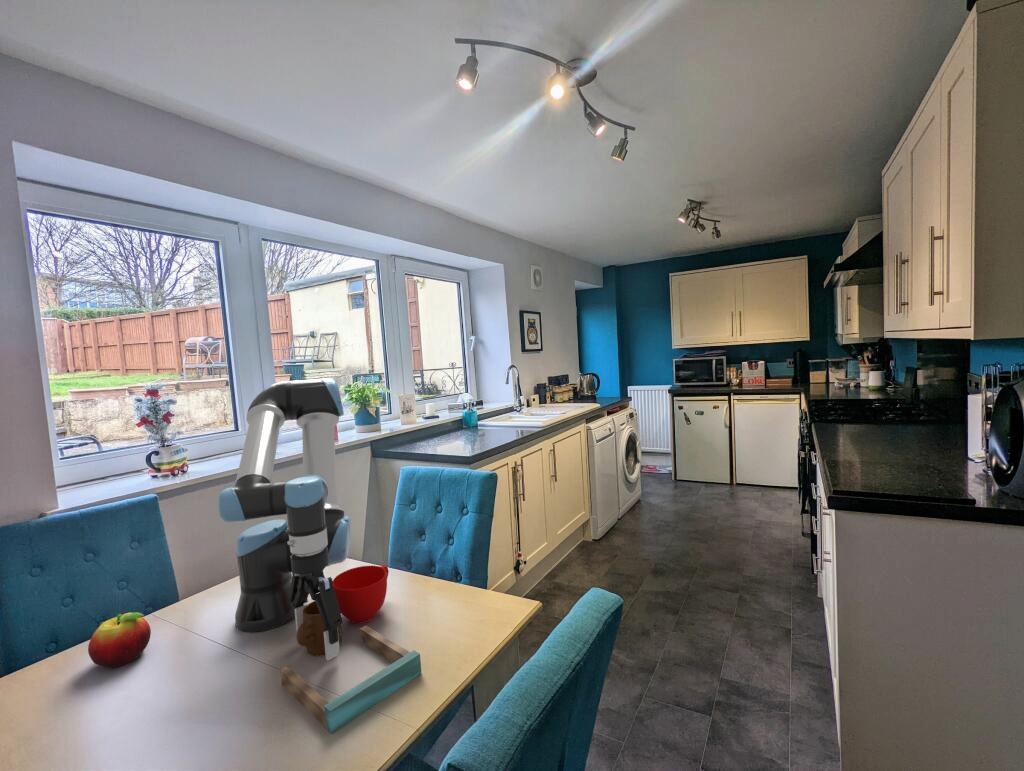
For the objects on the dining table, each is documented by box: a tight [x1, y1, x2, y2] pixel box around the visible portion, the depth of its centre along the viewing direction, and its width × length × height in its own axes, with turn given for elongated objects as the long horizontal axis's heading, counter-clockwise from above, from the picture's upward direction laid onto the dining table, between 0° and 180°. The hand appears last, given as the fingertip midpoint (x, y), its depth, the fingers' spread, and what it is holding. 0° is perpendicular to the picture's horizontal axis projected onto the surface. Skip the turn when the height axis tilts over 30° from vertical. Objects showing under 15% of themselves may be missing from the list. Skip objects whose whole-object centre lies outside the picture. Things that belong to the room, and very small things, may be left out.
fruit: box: [87, 611, 152, 669], centre depth 104 cm, size 11×11×10 cm
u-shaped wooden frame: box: [280, 625, 422, 734], centre depth 93 cm, size 20×19×4 cm
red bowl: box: [332, 565, 389, 624], centre depth 118 cm, size 13×17×10 cm
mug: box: [296, 600, 342, 657], centre depth 102 cm, size 12×8×9 cm, turn 170°
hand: (317, 645), depth 102 cm, fingers open, 13 cm apart
